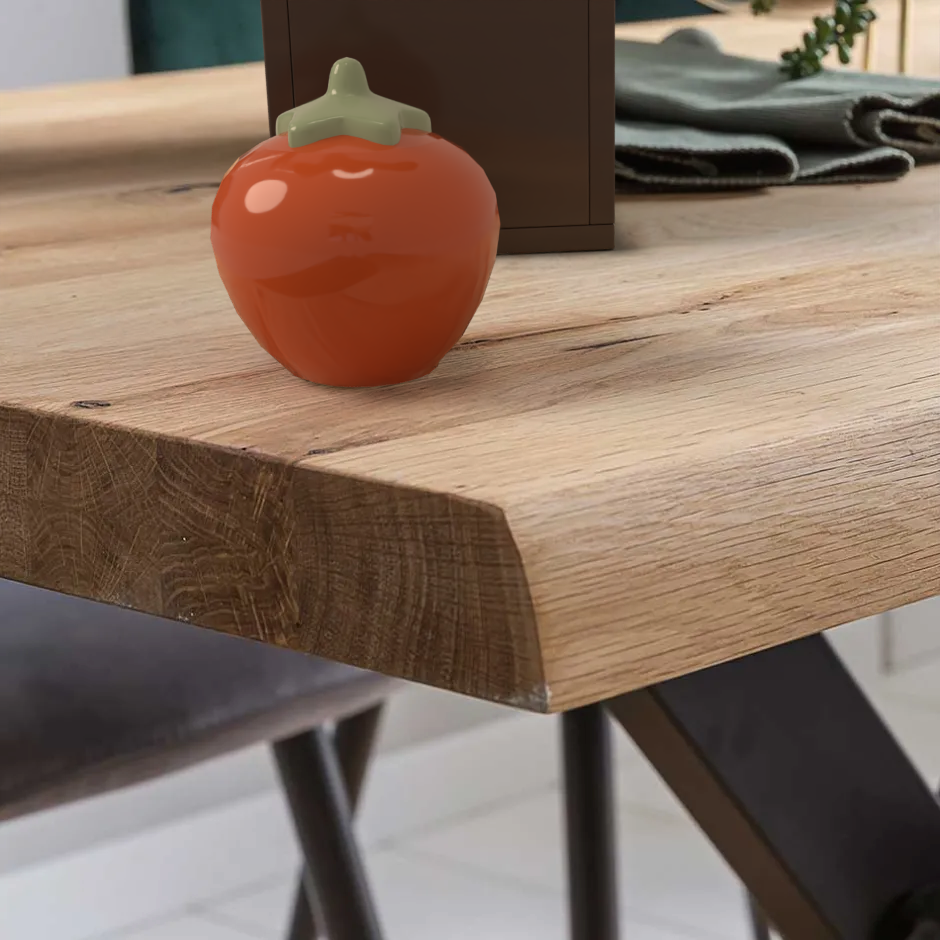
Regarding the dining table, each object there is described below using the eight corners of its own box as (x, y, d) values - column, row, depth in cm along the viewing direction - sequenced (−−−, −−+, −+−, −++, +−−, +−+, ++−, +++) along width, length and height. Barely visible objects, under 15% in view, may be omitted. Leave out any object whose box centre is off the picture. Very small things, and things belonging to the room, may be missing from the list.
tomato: (559, 357, 42) (556, 48, 39) (372, 428, 37) (353, 76, 34) (356, 321, 46) (341, 41, 44) (162, 380, 41) (131, 65, 38)
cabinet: (293, 197, 68) (277, -42, 64) (565, 186, 68) (563, -51, 65) (278, 263, 55) (257, -32, 51) (615, 249, 55) (615, -44, 52)
